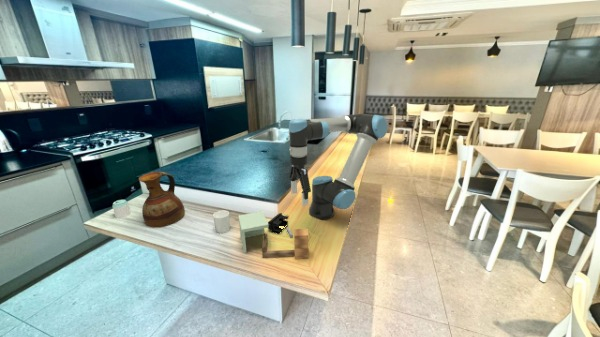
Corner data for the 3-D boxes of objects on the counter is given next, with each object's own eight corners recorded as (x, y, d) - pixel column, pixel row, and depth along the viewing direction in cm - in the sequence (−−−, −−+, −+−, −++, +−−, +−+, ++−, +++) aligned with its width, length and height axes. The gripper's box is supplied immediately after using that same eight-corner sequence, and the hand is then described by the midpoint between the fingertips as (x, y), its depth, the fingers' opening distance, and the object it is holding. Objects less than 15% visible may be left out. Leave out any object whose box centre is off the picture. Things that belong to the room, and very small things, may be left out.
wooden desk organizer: (306, 241, 112) (306, 219, 109) (308, 258, 101) (308, 235, 97) (264, 242, 111) (263, 221, 108) (262, 260, 100) (260, 237, 96)
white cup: (225, 225, 127) (223, 208, 124) (234, 230, 122) (232, 213, 119) (212, 231, 121) (210, 214, 118) (220, 236, 116) (218, 219, 113)
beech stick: (287, 217, 134) (287, 214, 134) (288, 218, 133) (288, 215, 133) (267, 226, 126) (267, 223, 125) (269, 227, 124) (268, 224, 124)
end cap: (277, 222, 129) (277, 211, 127) (288, 225, 126) (288, 214, 124) (267, 231, 121) (266, 220, 119) (278, 235, 118) (277, 223, 116)
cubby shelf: (264, 232, 120) (262, 211, 116) (269, 247, 108) (268, 224, 104) (240, 237, 116) (238, 215, 112) (243, 253, 104) (241, 229, 100)
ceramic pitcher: (138, 226, 127) (124, 175, 117) (172, 210, 143) (162, 164, 134) (159, 235, 118) (147, 181, 108) (193, 217, 135) (184, 169, 125)
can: (117, 225, 127) (111, 205, 124) (116, 220, 133) (111, 201, 129) (132, 220, 132) (127, 202, 128) (131, 216, 137) (126, 197, 133)
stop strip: (288, 230, 121) (288, 227, 121) (292, 237, 115) (292, 234, 115) (286, 230, 121) (286, 227, 120) (290, 238, 115) (290, 234, 114)
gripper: (281, 149, 111) (283, 190, 117) (301, 164, 89) (302, 212, 96) (296, 148, 113) (296, 187, 120) (319, 161, 91) (318, 208, 98)
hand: (299, 198), depth 108 cm, fingers open, 13 cm apart
